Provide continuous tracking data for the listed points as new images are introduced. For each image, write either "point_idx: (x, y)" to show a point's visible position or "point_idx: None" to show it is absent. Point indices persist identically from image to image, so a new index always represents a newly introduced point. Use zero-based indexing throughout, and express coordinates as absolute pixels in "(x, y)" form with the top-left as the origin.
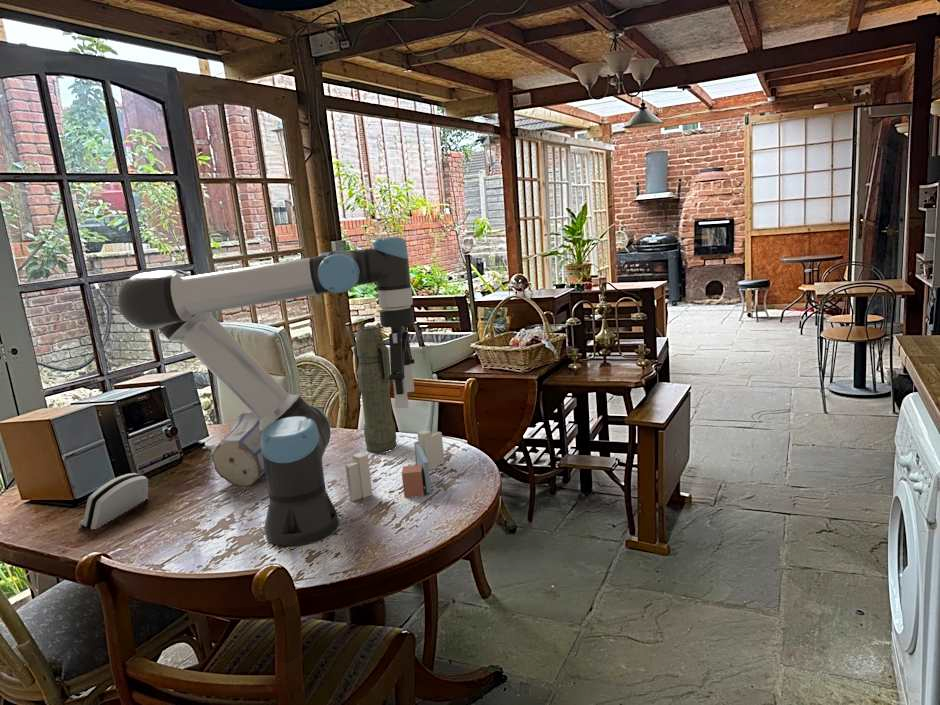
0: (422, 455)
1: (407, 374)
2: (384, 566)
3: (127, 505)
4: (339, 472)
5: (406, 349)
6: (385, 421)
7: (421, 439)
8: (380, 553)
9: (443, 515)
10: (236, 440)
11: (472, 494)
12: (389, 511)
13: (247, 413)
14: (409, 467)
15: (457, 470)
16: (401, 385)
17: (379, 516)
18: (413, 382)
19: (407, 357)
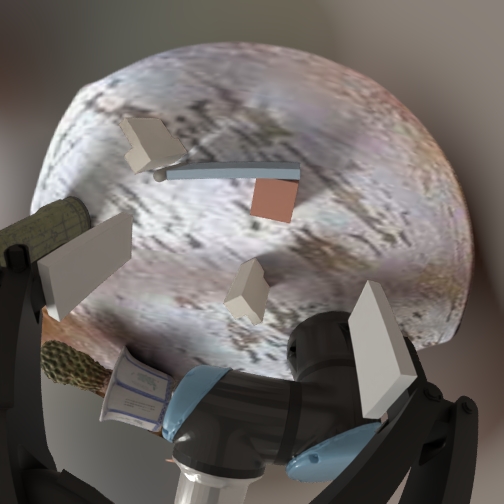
0: (249, 174)
1: (84, 268)
2: (468, 270)
3: None
4: (148, 288)
5: (17, 387)
6: (51, 227)
7: (150, 164)
8: (444, 271)
9: (391, 165)
10: (155, 425)
11: (329, 94)
12: (336, 241)
13: (102, 419)
14: (262, 203)
15: (202, 98)
16: (421, 371)
17: (346, 258)
18: (100, 224)
19: (26, 318)
